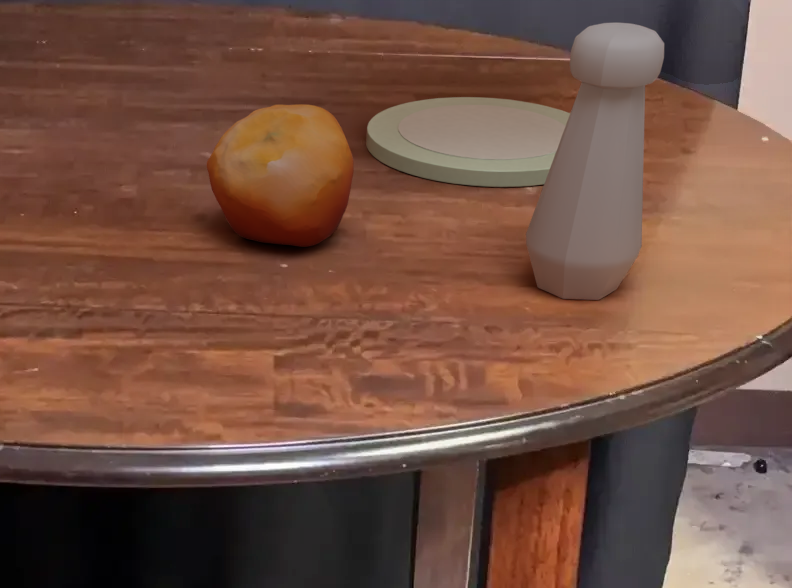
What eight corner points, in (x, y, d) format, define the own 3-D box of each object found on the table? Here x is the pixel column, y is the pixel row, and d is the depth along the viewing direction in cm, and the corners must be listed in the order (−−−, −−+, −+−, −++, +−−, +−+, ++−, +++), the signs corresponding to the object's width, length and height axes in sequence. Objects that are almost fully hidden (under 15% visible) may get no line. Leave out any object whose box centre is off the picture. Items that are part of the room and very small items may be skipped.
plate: (589, 116, 103) (592, 100, 102) (613, 192, 91) (616, 175, 90) (368, 107, 105) (369, 91, 104) (362, 181, 93) (364, 164, 92)
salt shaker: (498, 272, 81) (535, 19, 74) (588, 257, 83) (634, 8, 75) (560, 314, 77) (606, 49, 69) (654, 297, 79) (710, 36, 71)
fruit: (389, 190, 87) (370, 88, 81) (333, 298, 85) (308, 201, 78) (265, 166, 91) (236, 66, 84) (208, 269, 89) (173, 174, 82)
